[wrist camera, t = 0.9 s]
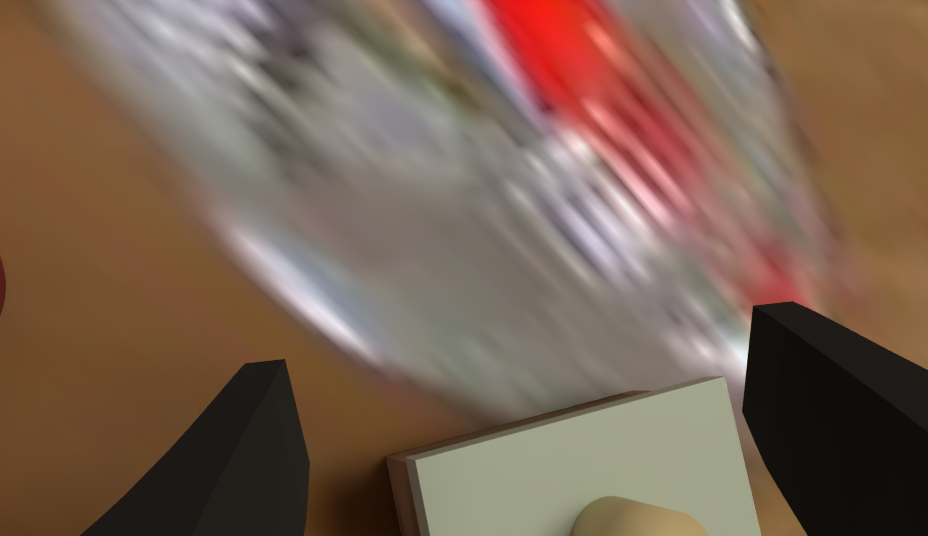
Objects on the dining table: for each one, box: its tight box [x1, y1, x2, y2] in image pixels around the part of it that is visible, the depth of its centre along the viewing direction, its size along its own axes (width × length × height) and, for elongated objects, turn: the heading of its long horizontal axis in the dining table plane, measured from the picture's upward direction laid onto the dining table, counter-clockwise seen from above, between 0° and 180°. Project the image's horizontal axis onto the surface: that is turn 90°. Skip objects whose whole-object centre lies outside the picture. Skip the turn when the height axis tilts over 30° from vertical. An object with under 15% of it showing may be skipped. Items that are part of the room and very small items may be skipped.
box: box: [386, 391, 650, 536], centre depth 26 cm, size 7×10×4 cm
